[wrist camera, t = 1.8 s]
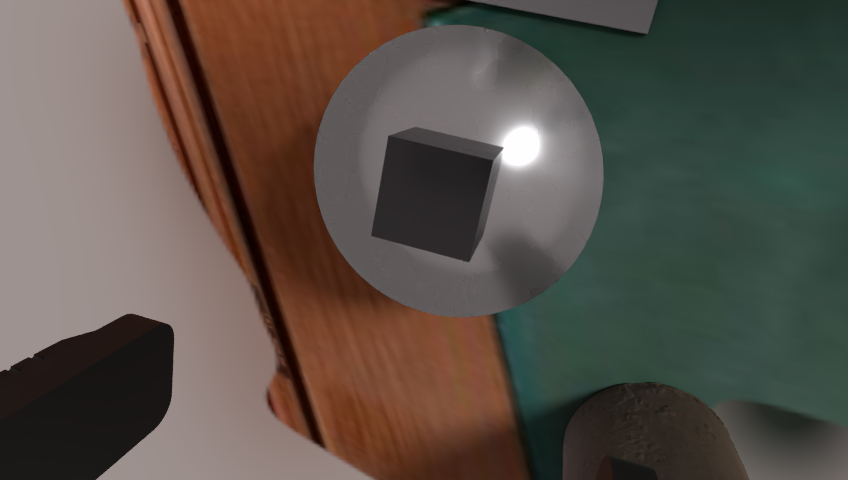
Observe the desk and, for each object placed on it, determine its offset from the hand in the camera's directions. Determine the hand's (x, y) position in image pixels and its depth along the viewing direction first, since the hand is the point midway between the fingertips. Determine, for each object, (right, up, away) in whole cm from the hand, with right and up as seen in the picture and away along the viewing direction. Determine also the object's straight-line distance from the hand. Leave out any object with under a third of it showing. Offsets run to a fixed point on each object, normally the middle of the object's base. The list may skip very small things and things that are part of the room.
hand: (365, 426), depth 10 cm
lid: (+2, +6, +16) cm, 17 cm away
